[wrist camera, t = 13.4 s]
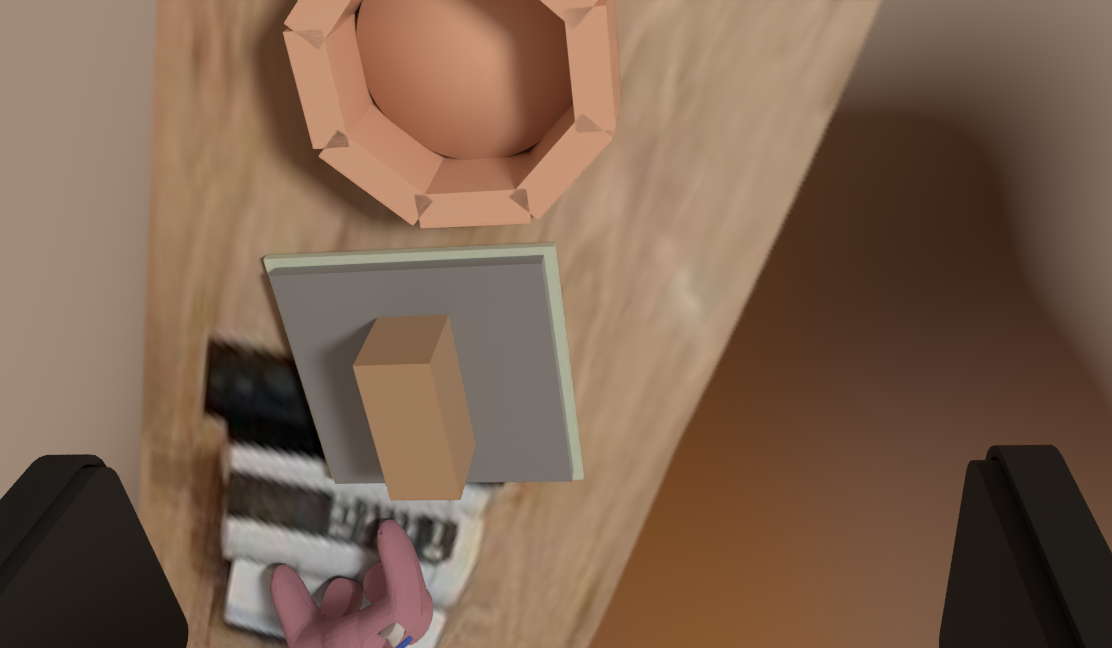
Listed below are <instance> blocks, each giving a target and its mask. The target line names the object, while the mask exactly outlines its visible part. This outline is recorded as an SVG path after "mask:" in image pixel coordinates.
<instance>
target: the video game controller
mask: <svg viewBox="0 0 1112 648" xmlns="http://www.w3.org/2000/svg"><path fill="white" fill-rule="evenodd" d="M377 549H378V552H379V556H380V559H381V561H380V562H377V563H375V564H374V565H373V566H371V567H370V568H369V570H368V571H367V573H366V575H365V577H364V582H363V589H364V593H365V596H366V598H367V599H368V600H369V601H370V602H371V603H372V605H370V606H368V607H366V608H364V609H361V610H360V607H361V604H362V589H361V586H360V585H359V584H358V583H357V582H355V581H352V580H349V579H344V578H338V579H336V580H334V581H332V582H331V583H330V585H329V586H328V587H327V590H326V592H325V595H324V598H323V601H322V604H321V607H320V608H319V607H318V606H317V605H316V604H315V602H314V601H313V599H312V598H311V596H310V594H309V592H308V590H307V588H306V586H305V584H304V582H303V581H302V579H301V578H300V577H299V575H298V574H297V572H296V571H295V570H293V569H292V568H291V567H290V566H288V565H286V564H281V565H279V566H277V567H276V568H275V569H274V571H273V573H272V576H271V581H270V591H271V596H272V599H273V602H274V605H275V608H276V611H277V614H278V617H279V619H280V622H281V625H282V628H283V631H284V635H285V638H286V641H287V644H288V648H405V647H406V646H407V645H412V644H414V643H416V642H417V641H418V640H420V639H421V638H422V637H423V636H424V635H425V633H426V632H427V630H428V628H429V626H430V624H431V621H432V616H433V602H432V598H431V595H430V593H429V592H428V590H427V589H426V586H425V582H424V578H423V575H422V571H421V567H420V564H419V560H418V557H417V555H416V552H415V549H414V547H413V544H412V542H411V540H410V538H409V537H408V535H407V534H406V532H405V531H404V529H403V527H401V526H400V525H399V524H398V523H397V522H396V521H395V520H393V519H388V520H385V521H383V522H382V523H381V524H380V526H379V528H378V533H377Z"/></svg>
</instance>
